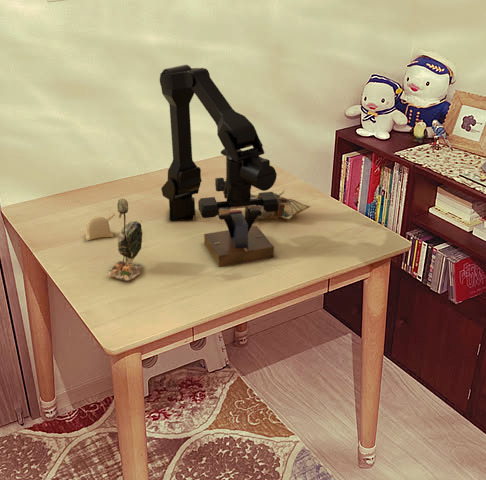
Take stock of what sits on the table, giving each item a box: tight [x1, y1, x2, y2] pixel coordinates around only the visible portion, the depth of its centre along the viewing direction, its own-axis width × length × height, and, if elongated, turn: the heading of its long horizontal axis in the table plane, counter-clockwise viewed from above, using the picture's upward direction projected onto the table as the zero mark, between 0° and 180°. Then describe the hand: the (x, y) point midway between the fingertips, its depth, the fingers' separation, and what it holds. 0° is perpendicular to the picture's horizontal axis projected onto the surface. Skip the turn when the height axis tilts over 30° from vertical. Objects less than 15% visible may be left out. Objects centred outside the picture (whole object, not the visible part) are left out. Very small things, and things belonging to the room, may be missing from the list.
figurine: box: [251, 188, 311, 221], centre depth 192 cm, size 20×6×17 cm
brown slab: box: [203, 225, 275, 267], centre depth 177 cm, size 14×12×3 cm
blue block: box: [229, 209, 248, 248], centre depth 174 cm, size 8×3×6 cm, turn 10°
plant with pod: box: [106, 198, 143, 282], centre depth 165 cm, size 8×11×20 cm
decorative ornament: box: [85, 213, 116, 241], centre depth 185 cm, size 4×8×5 cm, turn 106°
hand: (238, 236), depth 176 cm, fingers closed on blue block, 3 cm apart
